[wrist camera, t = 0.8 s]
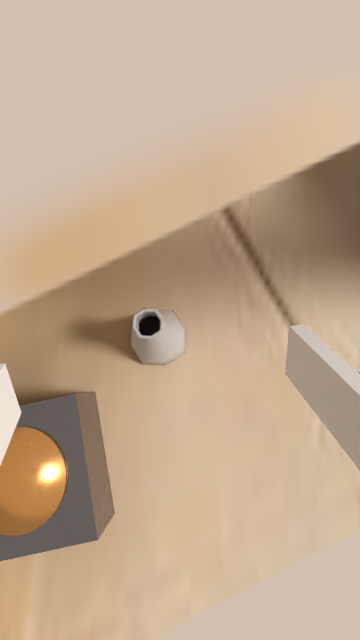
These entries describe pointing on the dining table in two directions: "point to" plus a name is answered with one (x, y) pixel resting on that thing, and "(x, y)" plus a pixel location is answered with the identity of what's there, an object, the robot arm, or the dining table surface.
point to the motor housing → (54, 478)
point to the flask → (157, 336)
